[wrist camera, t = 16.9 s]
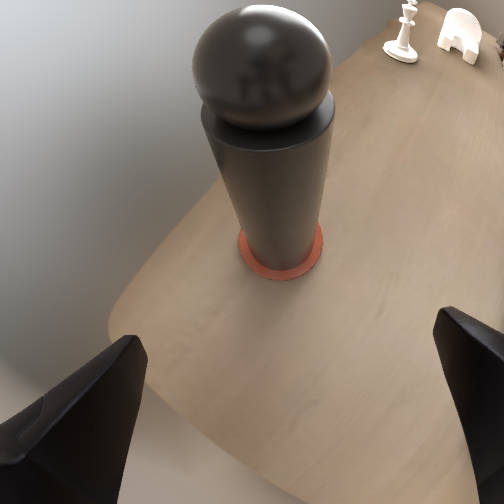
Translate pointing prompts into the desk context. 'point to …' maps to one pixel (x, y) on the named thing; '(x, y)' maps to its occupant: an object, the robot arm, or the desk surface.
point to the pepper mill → (268, 124)
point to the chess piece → (403, 37)
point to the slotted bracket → (461, 34)
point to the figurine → (501, 45)
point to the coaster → (282, 274)
